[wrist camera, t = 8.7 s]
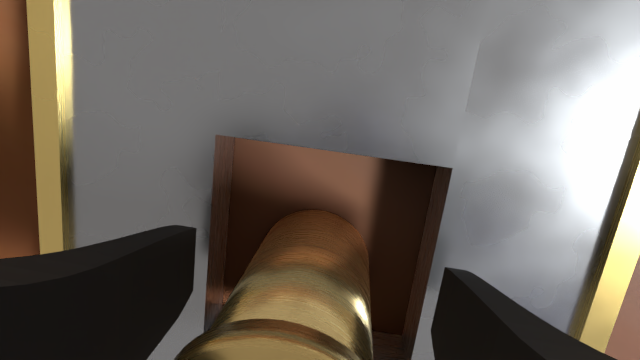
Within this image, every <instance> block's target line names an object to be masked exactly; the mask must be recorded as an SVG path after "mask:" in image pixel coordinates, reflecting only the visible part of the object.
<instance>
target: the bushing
mask: <svg viewBox="0 0 640 360" xmlns="http://www.w3.org/2000/svg"><path fill="white" fill-rule="evenodd" d="M174 360H373V348H372V325H371V303H370V280H369V259H368V252H367V248H366V245H365V243H364V241H363V239H362V237H361V235H360V234H359V232H358V231H357V230H356V229H355V228H354V227H353V226H352V225H351V224H350V223H349V222H348V221H346V220H345V219H343V218H342V217H340V216H338V215H335V214H333V213H330V212H327V211H322V210H303V211H298V212H295V213H292V214H290V215H287V216H285V217H284V218H282V219H281V220H279V221H278V222H277V223H276V224H275V225H274V226H273V227H272V228H271V229H270V231H269V232H268V234H267V235H266V237H265V239H264V240H263V242H262V244H261V245H260V247H259V249H258V250H257V252H256V254H255V255H254V257H253V259H252V260H251V262H250V264H249V265H248V267H247V269H246V270H245V272H244V274H243V275H242V277H241V278H240V280H239V282H238V283H237V285H236V287H235V288H234V290H233V292H232V293H231V295H230V297H229V298H228V300H227V302H226V303H225V305H224V307H223V308H222V310H221V312H220V313H219V315H218V317H217V318H216V320H215V321H214V323H213V325H212V326H211V328H210V330H208V331H206V332H204V333H203V334H201V335H199V336H197V337H196V338H194V339H193V340H192V341H191V342H189V343H188V344H187V345H186V346H185V347H184V348H183V349H182V350H181V351H180V352H179V353H178V354H177V355H176V357H175V358H174Z"/></svg>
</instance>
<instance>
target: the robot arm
mask: <svg viewBox="0 0 640 360" xmlns="http://www.w3.org/2000/svg"><path fill="white" fill-rule="evenodd" d="M196 229H197V228H194V227H187V226H181V225H169V226H164V227H159V228H155V229H151V230H147V231H144V232H140V233H136V234H132V235H129V236H125V237H121V238H117V239H113V240H109V241H105V242H101V243H97V244H92V245H88V246H84V247H80V248H75V249H70V250H64V251H59V252H53V253H46V254H40V255H33V256H25V257H15V258H5V259H0V360H147V359H148V357H149V356H150V355H151V353H152V352H153V351H154V349H155V348H156V347H157V346H158V344H159V343H160V342H161V340H162V339H163V338H164V336H165V335H166V334H167V332H168V331H169V330H170V328H171V327H172V326H173V324H174V323H175V322H176V320H177V319H178V318H179V316H180V314H181V312H182V311H183V309H184V307H185V305H186V303H187V302H188V300H189V298H190V296H191V294H192V292H193V286H194V267H195V248H196ZM431 338H432V345H433V352H434V358H435V360H617V359H615V358H612V357H610V356H608V355H606V354H604V353H602V352H600V351H598V350H596V349H594V348H592V347H590V346H588V345H586V344H585V343H583V342H581V341H579V340H577V339H575V338H573V337H571V336H569V335H568V334H566V333H564V332H562V331H561V330H559V329H557V328H555V327H554V326H552V325H551V324H549V323H547V322H546V321H544V320H542V319H541V318H539V317H538V316H536V315H534V314H533V313H531V312H530V311H528V310H527V309H525V308H524V307H522V306H521V305H519V304H518V303H516V302H515V301H513V300H512V299H510V298H509V297H508V296H506V295H505V294H503V293H502V292H500V291H499V290H497V289H496V288H495V287H493V286H492V285H490V284H489V283H487V282H486V281H484V280H483V279H481V278H480V277H478V276H477V275H475V274H473V273H471V272H469V271H467V270H461V269H455V268H448V267H445V268H444V273H443V277H442V282H441V286H440V291H439V295H438V300H437V304H436V308H435V313H434V317H433V322H432V326H431Z"/></svg>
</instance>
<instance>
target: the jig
mask: <svg viewBox="0 0 640 360" xmlns="http://www.w3.org/2000/svg"><path fill="white" fill-rule="evenodd" d="M26 3H27V21H28V40H29V58H30V76H31V95H32V113H33V131H34V150H35V168H36V186H37V205H38V223H39V241H40V254H46V253H53V252H59V251H64V250H70V249H75V248H80V247H84V246H88V245H92V244H97V243H101V242H105V241H109V240H113V239H117V238H121V237H125V236H129V235H132V234H136V233H140V232H144V231H147V230H151V229H155V228H159V227H164V226H169V225H181V226H187V227H194V228H197V229H196V248H195V267H194V286H193V292H192V294H191V296H190V298H189V300H188V302H187V303H186V305H185V307H184V309H183V311H182V312H181V314H180V316H179V318H178V319H177V320H176V322H175V323H174V324H173V326H172V327H171V328H170V330H169V331H168V332H167V334H166V335H165V336H164V338H163V339H162V340H161V342H160V343H159V344H158V346H157V347H156V348H155V349H154V351H153V352H152V353H151V355H150V356H149V357H148V359H147V360H174V358H175V357H176V355H177V354H178V353H179V352H180V351H181V350H182V349H183V348H184V347H185V346H186V345H187V344H188V343H189V342H191V341H192V340H193V339H194V338H196V337H197V336H199V335H201V334H203V333H204V332H206V331H208V330H210V328H211V326H212V325H213V323H214V321H215V320H216V318H217V317H218V315H219V313H220V312H221V310H222V308H223V307H224V306H223V305H222V304H223V290H224V276H225V263H226V249H227V236H228V222H229V208H230V195H231V181H232V167H233V154H234V140H235V137H237V138H244V139H251V140H258V141H265V142H272V143H279V144H286V145H293V146H300V147H307V148H314V149H321V150H328V151H335V152H342V153H349V154H356V155H363V156H370V157H377V158H385V159H392V160H399V161H406V162H413V163H420V164H427V165H434V166H437V168H436V173H435V178H434V182H433V187H432V192H431V197H430V202H429V207H428V212H427V216H426V221H425V226H424V231H423V236H422V241H421V246H420V250H419V255H418V260H417V265H416V270H415V275H414V280H413V284H412V289H411V294H410V299H409V304H408V309H407V313H406V318H405V323H404V328H403V333H402V335H396V334H390V333H384V332H378V331H372V348H373V360H435V358H434V352H433V345H432V338H431V326H432V322H433V317H434V313H435V308H436V304H437V300H438V295H439V291H440V286H441V282H442V277H443V273H444V268H445V267H448V268H455V269H461V270H467V271H469V272H471V273H473V274H475V275H477V276H478V277H480V278H481V279H483V280H484V281H486V282H487V283H489V284H490V285H492V286H493V287H495V288H496V289H497V290H499V291H500V292H502V293H503V294H505V295H506V296H508V297H509V298H510V299H512V300H513V301H515V302H516V303H518V304H519V305H521V306H522V307H524V308H525V309H527V310H528V311H530V312H531V313H533V314H534V315H536V316H538V317H539V318H541V319H542V320H544V321H546V322H547V323H549V324H551V325H552V326H554V327H555V328H557V329H559V330H561V331H562V332H564V333H566V334H568V335H569V336H571V337H573V338H575V339H577V340H579V341H581V342H583V343H585V344H586V345H588V346H590V347H592V348H594V349H596V350H598V351H600V352H602V353H604V352H605V349H606V346H607V343H608V341H609V338H610V335H611V332H612V330H613V327H614V324H615V321H616V318H617V316H618V313H619V310H620V307H621V304H622V302H623V299H624V296H625V293H626V290H627V288H628V285H629V282H630V279H631V276H632V274H633V271H634V268H635V265H636V262H637V260H638V257H639V254H640V0H26Z"/></svg>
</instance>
